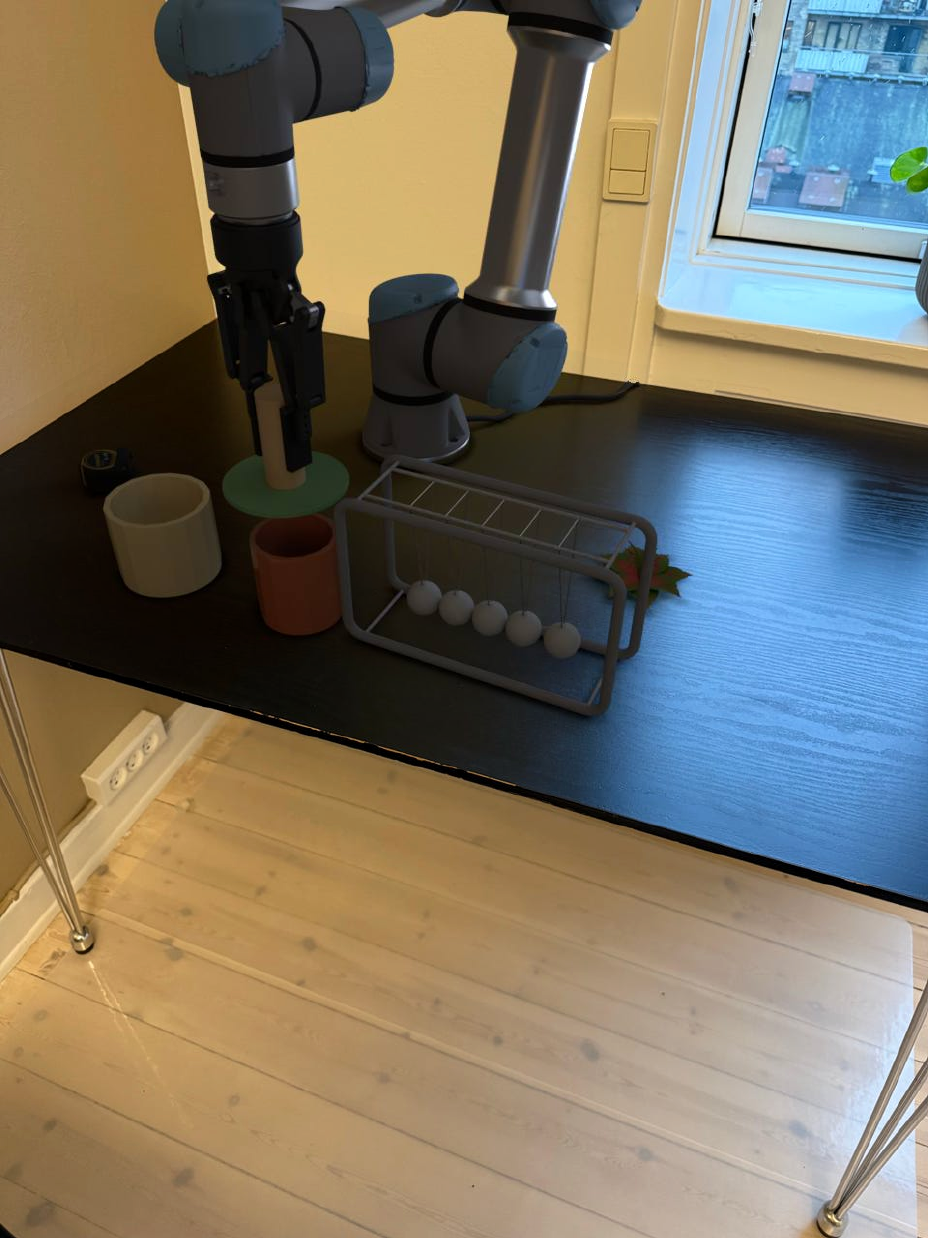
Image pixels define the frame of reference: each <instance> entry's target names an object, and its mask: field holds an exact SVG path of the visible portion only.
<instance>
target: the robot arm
mask: <svg viewBox="0 0 928 1238" xmlns="http://www.w3.org/2000/svg"><path fill="white" fill-rule="evenodd" d="M642 2H643V0H166V1H165V2H164V3H163V5H161V7H160V9H159V11H158V13H157V15H156V18H155V21H154V22H155V23H154V28H153V29H154V30H153V40H154V47H155V51H156V54H157V57H158V60H159V63H160V65H161V67H162V69H163V70H164V71H165V73H166V75H168V77H169V78H170V79H172V80H173V81H174V82H175V83H177V84H178V85H180V86H183V87H186V88H189V92H190V99H191V105H192V111H193V116H194V123H195V130H196V135H197V142H198V148H199V154H200V158H201V163H202V171H203V179H204V185H205V194H206V199H207V200H206V201H207V207H208V209H209V210H210V211H211V212H212V213H213V214H212V216H211V217H210V219H209V224H210V231H211V232H210V233H211V238H212V246H213V252H214V257H215V259H216V261H217V262H218V264H220V265H221V266H223V267H224V269H223V270H218V271H216V272H213V273H212V272H211V273H209V274H208V275H206V281H207V285H208V288H209V290H210V293H211V296H212V298H213V301H214V307H215V312H216V318H217V324H218V331H219V336H220V340H221V347H222V352H223V353H222V354H223V358H224V364H225V371H226V374H227V376H228V378H229V379H230V380H235V379H236V381H238V382H239V387H240V388H241V390H242V391H243V392H244V396H245V403H246V410H247V414H248V418H249V419H250V425H251V432H252V433H251V435H252V440H253V446H254V448H253V449H254V453H255V454H254V455H258V456H260V457H261V456H262V448H261V441H260V434H259V426H258V419H257V411H256V404H255V396H254V392H255V390H256V389H257V388H259V387H261V386H263V385H266V384H268V383H270V382H272V381H273V380H274V377H273V376H272V375H270V374H269V373H268V368H269V366H268V365H269V363H268V362H269V345H270V349H271V353H272V359H273V362H274V365H275V366H274V367H275V371H276V374H277V378H278V383H280V387H281V391H282V395H283V399H284V403H285V406H283V407H281V408H279V410H280V418H281V427H282V435H283V444H284V452H285V461H286V469H287V471H289V472H291V473H293V472H295V471H297V470H299V469H301V468H303V467H305V466H307V465H309V464H311V463H313V461H312V451H313V450H312V442H311V438H312V437H313V428H312V427H313V426H312V416H311V415H312V414H311V410H313V409H314V408H317V407H319V406H321V405H323V404H326V402H327V395H326V380H325V379H326V378H325V377H326V376H325V359H324V358H325V357H324V342H323V326H324V325H323V324H324V321H325V315H326V306H325V304H324V303H323V301H321V300H317V301H314V302H312V301H310V300H309V299H308V298H307V297H306V296H305V295H304V294H303V293H302V292H303V291H302V290H303V288H302V285H301V282H300V280H299V278H298V277H299V276H298V272H297V268H298V267H297V266H298V265H299V262H300V261H301V259H302V258H303V255H304V244H303V243H304V241H303V231H302V221H301V220H302V219H301V215H300V214H299V213H298V212H297V211H296V210H297V208H298V207H299V206H300V192H299V183H298V173H297V172H298V171H297V163H296V152H295V140H294V139H295V138H294V125H295V124H299V123H302V122H306V121H311V120H315V119H321V118H323V117H329V116H333V115H337V114H342V113H345V112H346V113H347V112H349V113H354V112H356V111H359V110H360V109H361V108H364V107H367V106H369V105H371V104H375V103H376V102H378V101H380V100H381V99H382V98H383V97H384V96H385V95H386V93H387V92H388V90H389V89H390V86H391V85H392V81H393V78H394V74H395V53H394V45H393V42H392V39H391V36H390V34H389V31H388V29H391V28H393V27H395V26H397V25H400V24H402V23H403V24H404V23H405V22H408V21H409V20H412V19H415V18H416V17H419V16H421V15H425V16H427V17H431V18H442V17H447V16H448V15H451V14H454V13H457V12H458V13H459V12H473V13H474V12H477V13H489V14H495V15H503V16H508V18H507V23H506V33H507V35H508V37H509V38H510V41H511V42H512V44H513V45H514V47H515V52H516V54H515V61H514V64H513V65H514V66H513V71H512V78H511V84H510V90H509V96H508V101H507V102H508V103H507V108H506V114H505V119H504V126H503V130H502V131H503V132H502V136H501V137H502V138H501V144H500V150H499V155H498V162H497V167H496V173H495V174H496V175H495V180H494V185H493V192H492V199H491V203H490V210H489V215H488V220H487V226H486V232H485V233H486V234H485V238H484V245H483V251H482V258H481V262H480V263H481V264H480V269H479V275H478V276H477V278H476V279H474V280H473V281H471V282H470V283H469V284H467V285H466V286H465V288H464V290H463V295H462V296H463V297H459V293H460V288H459V285H458V282H457V280H456V279H455V278H454V277H453V276H451V275H447V274H442V273H413V274H406V275H401V276H396V277H393V278H390V279H387V280H385V281H382V282H381V283H379V284H377V285H376V286H375V287H374V288H373V289H372V290H371V292H370V294H369V297H368V317H367V319H366V320H367V327H368V340H369V341H368V342H369V355H370V370H371V382H372V383H371V384H372V385H371V386H372V395H371V397H370V402H369V406H368V408H367V412H366V415H365V420H364V422H363V425H362V431H361V432H362V433H361V437H362V438H361V441H362V448H363V450H364V452H365V453H366V455H368V456H369V457H370V458H371V459H373V460H374V461H375V462H377V463H380V464H382V463H383V461H384V460H385V459H386V458H387V457H388V456H391V455H403V456H407V457H411V458H415V459H419V460H423V461H427V462H430V463H434V464H438V465H442V466H446V465H448V464H450V463H452V462H455V461H456V460H458V459H460V458H461V457H462V456H464V454H466V452H467V451H468V449H469V448H470V438H471V437H470V434H471V433H470V432H471V431H470V428H469V424H468V422H469V423H470V422H472V423H473V422H487V423H490V422H491V423H497V422H501V421H504V420H507V419H509V418H510V417H512V416H514V415H515V414H525V413H528V412H531V411H532V410H534V409H535V408H537V407H538V406H540V405H541V404H546V403H555V402H565V401H566V402H567V401H586V402H587V401H588V402H602V401H611V400H615V399H617V398H620V397H621V396H622V395H624V394H625V393H626V391H624V392H622V393H619V394H615V393H614V392H613V393H614V394H615V395H613V394H611V393H607V394H583V393H582V394H579V393H577V394H576V393H575V394H574V393H573V394H572V393H570V394H569V393H568V394H557V395H550V393H551V392H552V391H553V389H554V388H555V386H556V384H557V382H558V381H559V379H560V376H561V374H562V371H563V368H564V366H565V363H566V360H567V356H568V349H569V345H568V344H569V342H568V341H567V340H568V335H567V332H566V330H565V328H563V327H562V326H561V325H560V324H559V323H557V322H555V321H556V315H557V311H558V303H557V302H556V299H554V297H553V296H552V294H551V292H550V283H551V278H552V274H553V270H554V269H553V268H554V264H555V259H556V253H557V248H558V244H559V239H560V233H561V229H562V223H563V219H564V213H565V208H566V203H567V198H568V193H569V189H570V183H571V179H572V178H571V177H572V173H573V169H574V163H575V159H576V158H575V157H576V152H577V148H578V143H579V139H580V133H581V128H582V123H583V119H584V113H585V108H586V103H587V97H588V93H589V87H590V84H591V83H590V82H591V77H592V73H593V68H594V66H595V65H596V63H597V62H598V61H600V60H601V59H602V58H603V57H604V56H605V55H607V54H608V53H609V52H610V51H611V48H612V42H613V38H614V33H615V31H620V30H622V29H624V28H626V27H629V25H631V23H632V22H633V21H634V20H635V18H636V16H637V12H638V11H639V10H640V9H641V5H642ZM237 362H238V363H237ZM631 384H632V383H631V382H629V380H627V381H626V382H625V383H624V384H623V385H622V386H621V387H620V388H619V389H618V390H617V393H618V392H620V391H623V390H624V389H626V388H627V387H629V385H631ZM631 386H634V387H635V388H641V387H642V384H641V383H640V382H639V381H638V382H636V383H635V384H633V385H631ZM629 388H630V387H629ZM296 395H297V396H296ZM548 395H549V396H548ZM610 395H611V396H610ZM460 397H463V398H466V399H469V400H471V401H474V402H477V403H480V404H483V405H486V406H487V407H488V408H491V409H492V410H502V411H505V412H503V413H501V414H495V415H487V414H486V415H483V414H474V415H465V412H464V408H463V406H462V403H461V400H460ZM395 468H398V469H404V470H406V469H407V470H410V469H409V468H406V467H402V466H396V467H395Z"/></svg>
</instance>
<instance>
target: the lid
mask: <svg viewBox="0 0 928 1238" xmlns="http://www.w3.org/2000/svg"><path fill="white" fill-rule="evenodd" d="M254 396H255V404H256V411H257V419H258V426H259V434H260V441H261V448H262V456H261V457H260V456H258V455H256V454H254V455H251V456H249V457H247V458H245V459H243V460H241V461H238V462H237V463H235V465H233V466H231V468H230V469H229V470H228V471H227V472H226V474H225V475H224V477H223V479H222V483H221V487H222V493H223V496H224V499H225V500H226V502H228V504H229V505H230V506H232V507H233V508H234V509H236V510H238V511H239V512H242V513H245V514H247V515H250V516H254V517H259V518H265V519H267V518H293V517H300V516H305V515H309V514H313V513H319V512H321V511H324V510H326V509H328V508H330V507H331V506H333V505H336V504H337V503H338V502H339V501H340V500H342V499H343V497H344V496H345V495H346V493H347V491H348V489H349V486H350V475H349V472H348V470H347V468H346V466H345V465H344V464H343V463H342V462H341V461H340V460H338V459H337V458H335V457H334V456H332V455H329V454H327V453H323V452H320V451H315V450H311V451H312V461H313V463H311V464H309V465H307V466H305V467H303V468H301V469H299V470H297V471H295V472H293V473H291V472H289V471H287V469H286V461H285V452H284V444H283V435H282V427H281V418H280V410H279V408H281V407H283V406H285V403H284V399H283V395H282V391H281V387H280V383H279V382H273V383H272V382H271V383H266V384H264V385H263V386H261V387H259V388H257V389H256V390H255V392H254ZM296 396H297V395H296Z"/></svg>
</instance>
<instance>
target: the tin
mask: <svg viewBox="0 0 928 1238" xmlns="http://www.w3.org/2000/svg"><path fill="white" fill-rule="evenodd" d="M213 506H214V505H213V501H212V495H211V490H210V489H209V488H208V486H207V485H206V483H204V481H202V480H200V479H198V478H196V477H194V476H192V475H189V474H182V473H176V472H175V473H174V472H164V473H161V472H160V473H151V474H147V475H142V476H138V477H135V479H132V480H130V481H128V482H126V483H124V484H122V485H120V486H118V487H116V488H115V489H114V490H113V491H110V493H108V495H107V496H106V497H105V499H104V504H103V507H102V510H103V514H104V519H105V522H106V525H107V529H108V532H109V537H110V540H111V544H112V548H113V551H114V555H115V559H116V563H117V566H118V570H119V573H120V576H121V578H122V582H123V583H124V585H125V586H126V587H127V588H128V589H129V590H131V591H132V592H133V593H135V594H138V595H140V596H141V595H142V596H145V597H149V598H161V599H162V598H173V597H181V596H184V595H187V594H190V593H193V592H196V591H198V590H200V589H202V588H204V587H205V586H207V585H208V584H210V583H211V582H212V581H213V580H214V579H216V577H217V576H218V575H219V573H220V571H221V569H222V564H223V563H222V551H221V545H220V540H219V534H218V529H217V523H216V517H215V512H214V507H213Z"/></svg>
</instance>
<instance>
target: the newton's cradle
mask: <svg viewBox="0 0 928 1238" xmlns="http://www.w3.org/2000/svg"><path fill="white" fill-rule="evenodd" d="M396 466H402V467H406V468H409V469H408V470H406V469H403V468H398V467H396ZM409 470H414V471H417V472H421V473H424V474H429V475H432V476H428V475H424V474H420V473H417V472H413V471H409ZM392 472H394V473H398V474H400V475H401V474H402V475H405V476H410V477H414V478H417V479H421V480H425V481H429V482H430V484H429V485H428V487H426V488H425V489H424V490H423V492H422V493H420V495H418V497H416V499H414V500H413V502H412V503H411V504H405V503H402V502H398V501H395V500H393V484H392ZM379 473H380V476H379V477H378V478H377V479H375V481H373V482H372V483H371V485H369V486H368V487H367V488H366V489H365V490H364V491H363V492H362V493H361V494H360V495H359V496H358V497H357V498H354V497H345V498H341V499H340V500H339V501H337V502H336V503H335V505H334V508H333V514H332V515H333V523H334V528H335V539H336V550H337V562H338V573H339V584H340V595H341V606H342V616H341V617H342V622H343V625H344V627H345V630H347V632H348V633H349V634H350V635H351V636H352V637H353V638H355V639H357V640H358V641H361V642H364V643H367V644H369V645H372V646H376V647H379V648H381V649H384V650H387V651H391V652H394V653H397V654H399V655H403V656H406V657H409V658H412V659H414V660H417V661H421V662H422V663H423V662H424V663H427V664H430V665H432V666H436V667H439V668H442V669H444V670H448V671H450V672H454V673H457V674H459V675H463V676H466V677H469V678H472V679H475V680H478V681H481V682H484V683H487V684H490V685H493V686H496V687H499V688H502V689H505V690H508V691H511V692H514V693H516V694H520V695H523V696H526V697H529V698H532V699H535V700H538V701H541V702H544V703H547V704H550V705H553V706H556V707H559V708H562V709H565V710H568V711H571V712H574V713H577V714H580V715H583V716H587V717H598V716H601V715H604V714H605V713H606V712H607V711H608V710H609V709H610V706H611V703H612V697H613V690H614V684H615V676H616V671H617V663H618V660H629V659H632V658H634V657H635V655H637V653H638V652H639V651H640V648H641V644H642V643H641V642H642V636H643V630H644V626H645V625H644V624H645V618H646V612H647V608H646V607H647V601H648V595H649V589H650V583H651V577H652V571H653V566H654V560H655V554H657V550H656V548H658V533H657V530H656V528H655V527H654V525H653V524H652V522H650V521H649V520H648V519H646V518H645V517H643V516H641V515H638V514H634V513H630V512H626V511H623V510H619V509H615V508H611V507H606V506H603V505H600V504H595V503H591V502H587V501H583V500H579V499H575V498H573V497H568V496H564V495H560V494H556V493H551V492H548V491H544V490H540V489H535V488H533V487H528V486H525V485H520V484H516V483H512V482H509V481H505V480H502V479H501V480H500V479H497V478H493V477H489V476H485V475H481V474H476V473H473V472H469V471H466V470H461V469H458V468H454V467H450V466H446V465H438V464H434V463H430V462H427V461H423V460H419V459H415V458H411V457H407V456H403V455H391V456H388V457H387V458H386V459H385V460H384V461H383V463H381V465H380V472H379ZM433 476H435V477H433ZM436 476H437V477H441V478H444V479H448V480H452V481H456V482H460V483H463V484H467V485H472V486H475V487H479V488H483V489H486V490H487V489H488V490H491V491H495V492H498V493H502V494H507V495H510V496H514V497H518V498H521V499H525V500H526V499H527V500H528V501H533V502H537V503H541V504H545V505H549V506H553V507H556V508H560V509H564V510H568V511H572V512H575V513H580V514H582V515H583V514H584V515H587V516H590V517H596V518H599V519H602V520H607V521H610V522H613V523H619V524H622V525H626V526H629V527H624V526H621V525H620V526H619V525H617V524H613V523H609V522H606V521H605V522H604V521H600V520H597V519H593V518H589V517H586V516H581V515H577V514H574V513H570V512H567V511H562V510H559V509H555V508H551V507H547V506H543V505H539V504H535V503H532V502H528V501H523V500H520V499H516V498H512V497H509V496H504V495H501V494H497V493H493V492H489V491H485V490H481V489H478V488H474V487H470V486H467V485H463V484H458V483H455V482H451V481H447V480H444V479H439V478H436ZM431 482H432V483H431ZM379 484H380V490H381V491H380V492H381V497H380V496H376V495H374V494H373V495H372V494H369V493H371V491H372V490H373V489H374V488H376V487H377V486H378V485H379ZM435 484H441V485H443V486H447V487H450V488H451V487H452V488H455V489H460V490H463V491H466V492H465V493H464V494H463V496H461V498H460V499H459V500H458V501H457V502H456V503H455V504H454V505H453V506H452V507H451V508H450V510H449V511H448V512H447V513H446V514H442V513H439V512H436V511H435V512H434V511H433V506H434V505H433V503H434V493H435V492H434V491H435ZM431 486H432V487H431ZM430 487H431V501H430V510H427V509H423V508H421V507H417V506H413V505H414V503H415V502H417V501H418V499H420V497H421V496H422V495H423V494H424V493H426V491H427V490H428V489H429V488H430ZM470 493H474V494H478V495H482V496H485V497H490V498H493V499H497V500H500V501H501V502H500V503H499V505H498V506H497V507H496V508H495V509H494V511H493V512H492V513H491V514H490V515H489V516H488V517H487V519H486V520H485V522H484V523H483V524H478V523H476V522H475V523H474V522H471V521H468V520H467V514H468V506H469V505H468V504H469V495H470ZM465 496H466V500H465V511H464V519H461V518H456V517H453V516H449V514H450V512H452V510H454V508H455V507H456V506H457V505H458V504H459V502H461V501H462V500H463V498H464V497H465ZM364 498H365V499H369V500H372V501H376V502H380V503H381V505H380V504H377V503H373V502H368V501H366V500H363V499H364ZM505 502H509V503H512V504H515V505H520V506H523V507H528V508H532V509H535V510H538V512H537V513H536V514H535V515H534V516H533V518H532V519H531V521H530V522H529V523H528V524H527V526H526V527H525V528H524V529H523V531H522V532H521V533H520V535H519V534H515V533H512V532H507V531H504V530H502V525H503V517H504V508H505ZM394 507H398V508H401V509H405V510H409V511H410V513H409V512H406V511H401V510H398V509H396V508H395V509H394ZM500 507H501V513H500V522H499V529H496V528H493V527H490V526H486V525H485V524H486V523H488V521H489V520H490V519H491V518H492V516H493V515H494V514H495V513H496V511H497V510H498V509H499V508H500ZM348 510H352V511H355V512H359V513H362V514H366V515H369V516H373V517H376V518H381V519H382V530H383V551H384V569H385V572H384V573H385V576H386V579H387V581H388V583H389V584H390V586H391V587H392V588H393V589H395V590H396V591H397V592H398V593H397V594H396V595H395V597H393V599H392V600H391V601H390V602H389V603H388V604H387V606H385V608H384V609H383V610H382V611H381V612H380V613H379V614H378V615H377V617H376V618H375V619H374V620H373V621H372V623H371V624H370V625H369V626H368V627H367V628H366V629H365V630H364V629H362V628H361V627H359V626H358V625H357V624H356V622H355V619H354V611H353V601H352V598H353V597H352V586H351V573H350V560H349V550H348V538H347V535H348V534H347V523H346V511H348ZM542 511H543V512H547V513H550V514H555V515H559V516H561V517H566V518H569V519H573V520H576V521H575V522H574V524H573V525H572V526H571V528H570V529H569V531H568V532H567V534H566V535H565V537H563V540H562V541H561V542H560V544H559V545H555V544H552V543H548V542H544V541H541V540H538V536H539V528H540V522H541V514H542ZM413 512H416V513H419V514H423V515H427V516H429V518H428V517H423V516H420V515H416V514H414V513H413ZM537 516H538V517H537ZM432 517H434V518H437V519H441V520H445V522H442V521H437V520H434V519H432ZM536 517H537V523H536V531H535V538H534V539H533V538H530V537H527V536H523V534H524V533H525V532H526V530H527V529H528V527H529V526H531V524H532V522H533V521H534V520H535V518H536ZM448 521H449V522H452V523H456V524H460V525H463V527H461V526H456V525H452V524H449V523H448ZM580 521H581V522H584V523H588V524H592V525H596V526H601V527H604V528H608V529H610V530H611V529H612V530H616V531H619V532H623V533H624V535H623V537H621V538H622V539H621V540H620V542H619V543H618V545H617V546H616V548H615V549H614V551H613V552H612V553H613V555H612V556H611V558H610V559H609V560H607V559H603V558H602V557H599V556H596V555H591V554H588V553H584V552H581V551H577V550H576V544H577V535H578V528H579V522H580ZM394 522H395V523H399V524H401V525H405V526H408V527H412V530H413V531H412V532H413V538H414V544H415V550H416V557H417V558H416V559H417V563H418V570H419V576H420V580H418V581H416V582H414V583H413V584H412V585H411V584H408V583H406V582H403V581H402V580H401V579H400V578H399V577H398V576H397V573H396V555H395V554H396V553H395V532H394V530H395V529H394ZM466 526H467V527H470V528H474V529H478V530H481V532H477V531H474V530H471V529H467V528H466ZM574 527H575V532H574V541H573V548H572V549H570V548H566V547H563V546H561V545H562V544H563V542H564V541H565V540H566V538H567V537H568V536H569V534H570V533H571V532H572V530H573V528H574ZM415 528H416V529H419V530H423V531H427V532H428V537H427V548H426V549H427V551H426V561H425V571H424V572H425V573H424V574H425V575H424V580H423V575H422V574H423V573H422V569H421V560H420V555H419V547H418V542H417V535H416V529H415ZM635 528H636V529H638V530H640V532H642V534H643V535H644V539H645V542H644V548H643V550H644V554H643V560H642V566H641V572H640V579H639V585H638V591H637V598H635V605H634V611H633V617H632V622H631V623H632V624H631V630H630V634H629V635H630V637H629V643H628V646H627V647H625V648H620V644H621V637H622V631H623V625H624V616H625V610H626V603H627V597H628V593H627V592H628V591H626V587H625V584H624V582H623V580H622V579H621V578H620V576H619V575H617V574H616V573H615V572H613V571H612V570H609V568H610V566H611V565H612V563H613V561H614V560H615V558H616V556H617V555H618V553H621V552H620V551H621V550H622V548H624V545H625V543H626V542H627V540H628V538H629V537H630V535H631V533H632V532H633V530H634V529H635ZM485 532H488V533H493V534H496V535H498V537H495V536H492V535H489V534H485ZM431 533H433V534H437V535H440V536H445V537H447V544H448V551H449V553H448V554H449V562H450V569H451V570H450V571H451V578H452V586H453V590H450V591H448V592H445V594H442V592H441V590H440V588H439V587H438V585H437V584H435V583H434V582H433V581H431V580H427V577H428V567H429V566H428V563H429V553H430V552H429V551H430V540H431ZM501 536H503V537H507V538H511V539H514V540H517V541H519V543H517V542H514V541H510V540H507V539H503V538H501ZM450 538H451V539H455V540H458V541H461V551H460V560H459V561H460V562H459V569H458V570H459V571H458V581H457V589H456V583H455V575H454V568H453V559H452V550H451V540H450ZM522 542H525V543H528V544H532V545H534V546H533V547H532V546H528V545H525V544H522ZM465 543H468V544H472V545H476V546H479V547H482V548H483V558H484V571H485V585H486V598H487V600H483V601H480V602H479V603H478V604H474V600H473V598H472V597H471V596H470V594H468V593H467V592H465V591H463V590H460V584H461V576H462V575H461V573H462V565H463V556H464V555H463V554H464V544H465ZM537 546H539V547H543V548H545V549H546V548H547V549H551V550H554V551H558V554H556V553H554V552H551V551H547V550H542V549H539V548H537ZM486 548H487V549H490V550H494V551H496V554H495V563H494V571H493V579H492V580H493V581H492V586H491V587H492V588H491V594H490V593H489V581H488V579H489V578H488V567H487V556H486V555H487V554H486ZM500 552H501V553H504V554H508V555H511V556H514V557H515V556H516V557H518V558H519V559H520V560H519V561H520V588H521V589H520V590H521V610H518V611H515V612H513V613H512V614H511V615H509V614H508V612H507V610H506V608H505V607H504V606H503V605H502V603H500V602H498V601H496V600H494V589H495V582H496V576H497V575H496V574H497V567H498V557H499V553H500ZM561 553H564V554H568V555H571V557H568V556H565V555H561ZM575 557H580V558H583V559H587V560H590V561H594V562H597V563H601V564H604V566H605V567H602V566H601V565H597V564H594V563H589V562H586V561H583V560H579V559H575ZM523 559H526V560H529V561H531V568H530V574H529V581H528V582H529V583H528V587H527V588H528V589H527V596H526V602H525V607H524V578H523V577H524V576H523ZM534 563H539V564H543V565H546V566H550V567H554V568H558V577H559V578H558V581H559V585H558V586H559V611H560V621H558V622H555V623H552V624H551V625H549V626H545V625H542V621H541V620H540V618H539V617H538V615H537V614H536V613H534V612H532V611H529V610H528V607H529V606H528V604H529V598H530V591H531V584H532V576H533V571H534V570H533V569H534ZM562 570H564V571H569V578H568V585H567V586H568V587H567V591H566V592H567V593H566V601H565V608H564V618H563V601H562V597H563V595H562ZM573 573H575V574H579V575H583V576H586V577H589V578H593V579H596V580H600V581H603V582H605V583H607V584H608V585H609V587H610V586H611V587H612V588H613V591H614V596H613V598H612V606H611V612H610V618H609V619H610V620H609V621H610V622H609V627H608V634H607V640H606V643H605V644H604V643H602V642H599V641H595V640H592V639H588V638H585V637H581V635H580V631H579V630H578V629H577V628H576V627H575V626H574V624H571V623H570V622H566V618H567V611H568V603H569V596H570V589H571V581H572V574H573ZM489 594H490V595H491V597H490V595H489ZM402 595H406V602H407V603H406V604H407V605H408V608H409V609H410V610H411V611H412V612H413V613H414V614H416V615H420V616H429V615H432V614H433V613H435V612H437V611H438V612H439V614H440V615H439V616H440V618H442V620H443V621H444V622H445V623H447V624H448V625H451V626H463V625H466V623H468V622H469V621H470V620H471V623H472V625H473V628H474V629H475V630H476V631H477V632H478V633H479V634H481V635H482V636H486V637H492V636H496V635H499V634H500V633H502V632H503V630H504V629H505V634H506V638H507V639H508V640H509V641H510V642H511V643H512V644H513V645H515V646H518V647H525V648H526V647H530V646H533V645H534V644H535V643H536V642H537V641H538V640H539V639H540V637H543V645H544V649H545V650H546V651H547V653H548V654H549V655H550V656H552V658H555V659H559V660H560V659H561V660H563V659H564V660H565V659H568V658H571V657H574V655H575V654H576V653H577V652H578V651H579V649H582V650H585V651H588V652H592V653H596V654H598V655H601V656H604V664H603V669H602V675H601V677H600V678H599V680H598V682H597V684H596V686H595V687H594V689H593V691H592V693H591V695H590V696H589V699H588V700H587V702H586V703H585V702H582V701H579V700H576V699H573V698H569V697H567V696H564V695H562V694H561V695H560V694H558V693H555V692H553V691H549V690H546V689H543V688H540V687H537V686H534V685H531V684H527V683H525V682H521V681H519V680H515V679H514V678H513V679H512V678H509V677H506V676H503V675H500V674H497V673H494V672H491V671H489V670H485V669H482V668H479V667H475V666H473V665H469V664H467V663H464V662H461V661H458V660H454V659H451V658H449V657H445V656H443V655H440V654H436V653H433V652H431V651H427V650H424V649H421V648H418V647H415V646H412V645H410V644H406V643H403V642H400V641H397V640H394V639H391V638H388V637H384V636H383V635H378V634H375V633H372V632H371V631H372V629H374V627H375V626H376V625H377V624H378V623H379V622H380V621H381V619H382V618H383V617H384V616H385V615H386V613H388V611H390V609H391V608H392V607H393V605H394V604H395V603H396V602H397V601H398V600H399V599H400V597H401V596H402ZM599 691H600V692H599ZM598 692H599V699H598V702H597V703H596V704H592V703H593V701H594V699H595V697H596V696H597V694H598Z"/></svg>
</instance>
